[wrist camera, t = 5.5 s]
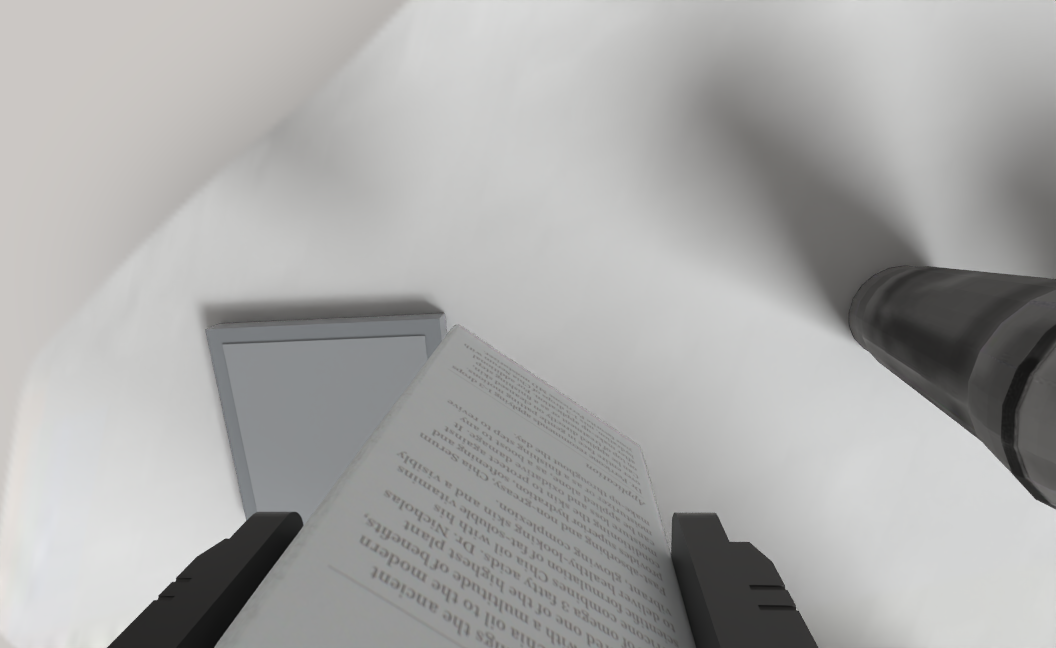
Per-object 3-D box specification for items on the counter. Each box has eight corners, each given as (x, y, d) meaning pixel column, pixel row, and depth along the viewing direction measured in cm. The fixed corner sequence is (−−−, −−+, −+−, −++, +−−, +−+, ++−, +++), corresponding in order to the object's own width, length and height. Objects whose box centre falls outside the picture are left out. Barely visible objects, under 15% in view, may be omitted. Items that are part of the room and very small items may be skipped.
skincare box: (374, 441, 15) (-281, 1321, 3) (458, 317, 14) (-80, 980, 2) (556, 557, 15) (525, 1667, 4) (649, 447, 14) (985, 1513, 3)
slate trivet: (444, 312, 28) (438, 319, 26) (466, 520, 31) (462, 535, 29) (219, 323, 29) (203, 329, 27) (261, 524, 32) (249, 538, 30)
